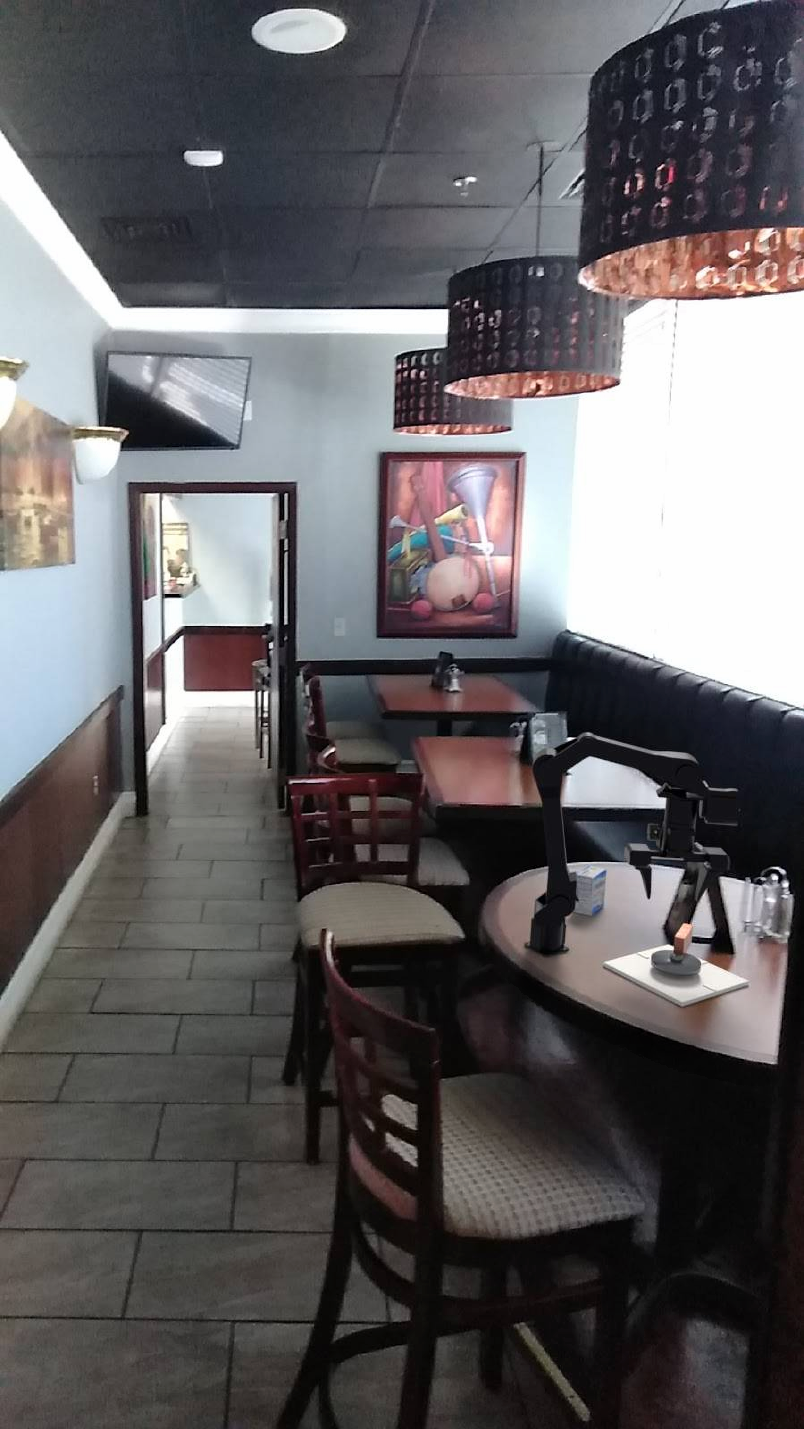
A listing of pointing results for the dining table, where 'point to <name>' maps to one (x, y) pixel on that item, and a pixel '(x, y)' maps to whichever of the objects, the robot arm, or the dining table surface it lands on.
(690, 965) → the handwheel
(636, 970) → the wheel board
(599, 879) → the medicine box
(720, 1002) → the dining table surface
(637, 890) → the dining table surface
